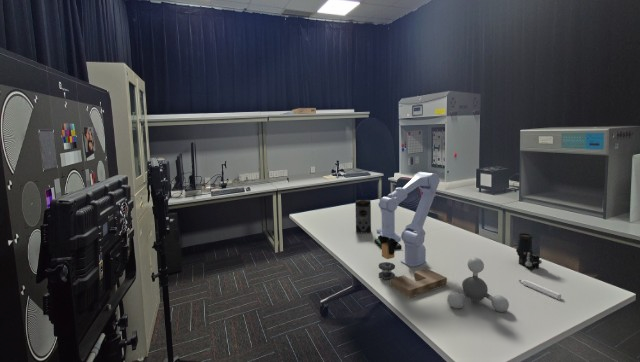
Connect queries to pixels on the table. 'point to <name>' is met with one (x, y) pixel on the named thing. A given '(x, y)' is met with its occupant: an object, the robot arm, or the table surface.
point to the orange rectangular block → (386, 251)
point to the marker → (541, 289)
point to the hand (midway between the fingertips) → (388, 252)
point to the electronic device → (363, 216)
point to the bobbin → (386, 271)
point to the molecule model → (476, 289)
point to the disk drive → (381, 246)
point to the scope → (527, 252)
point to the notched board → (418, 283)
